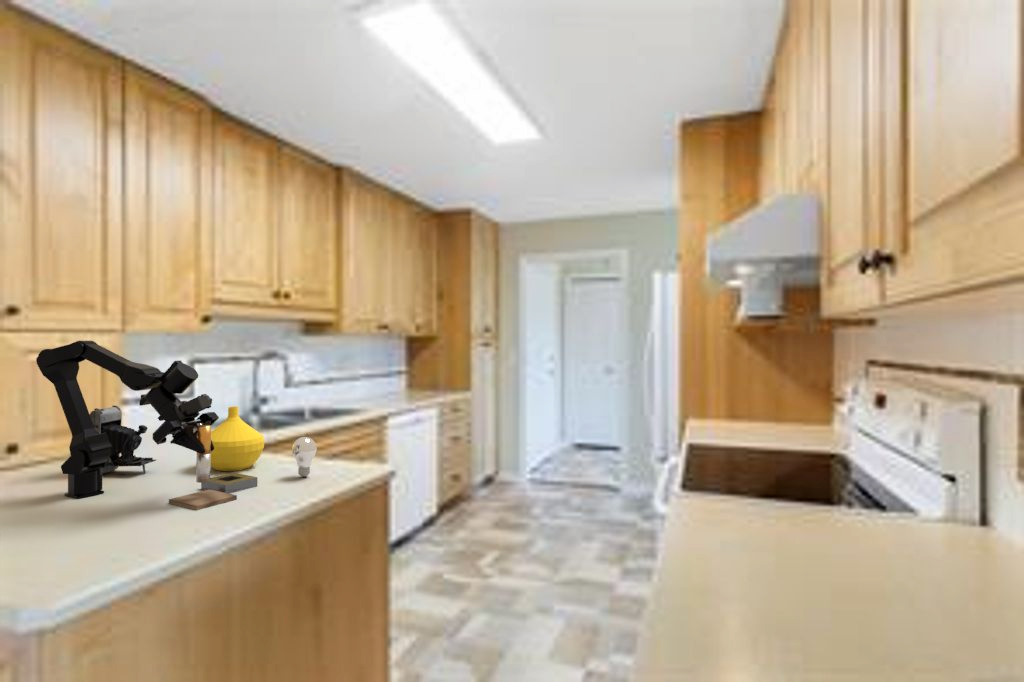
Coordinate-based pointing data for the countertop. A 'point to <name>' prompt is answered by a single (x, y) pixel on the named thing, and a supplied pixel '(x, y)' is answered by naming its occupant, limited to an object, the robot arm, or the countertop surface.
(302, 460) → the light bulb
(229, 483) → the chuck block
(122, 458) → the vintage camera
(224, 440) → the vase
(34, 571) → the countertop surface
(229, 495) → the walnut pad
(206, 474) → the orange and silver cylinder
